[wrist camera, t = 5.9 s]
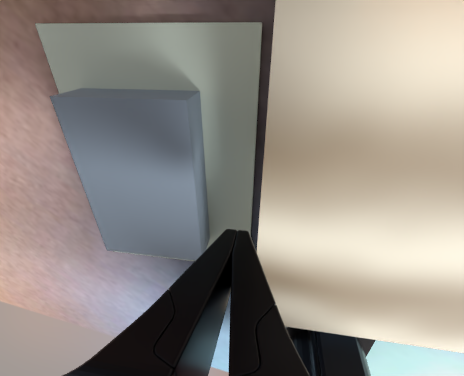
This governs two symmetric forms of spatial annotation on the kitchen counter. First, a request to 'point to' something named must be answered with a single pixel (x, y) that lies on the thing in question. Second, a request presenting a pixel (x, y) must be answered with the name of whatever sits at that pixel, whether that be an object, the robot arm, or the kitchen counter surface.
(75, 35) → the mat
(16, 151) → the kitchen counter surface
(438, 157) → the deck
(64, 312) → the kitchen counter surface
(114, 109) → the grey-blue rectangular block
